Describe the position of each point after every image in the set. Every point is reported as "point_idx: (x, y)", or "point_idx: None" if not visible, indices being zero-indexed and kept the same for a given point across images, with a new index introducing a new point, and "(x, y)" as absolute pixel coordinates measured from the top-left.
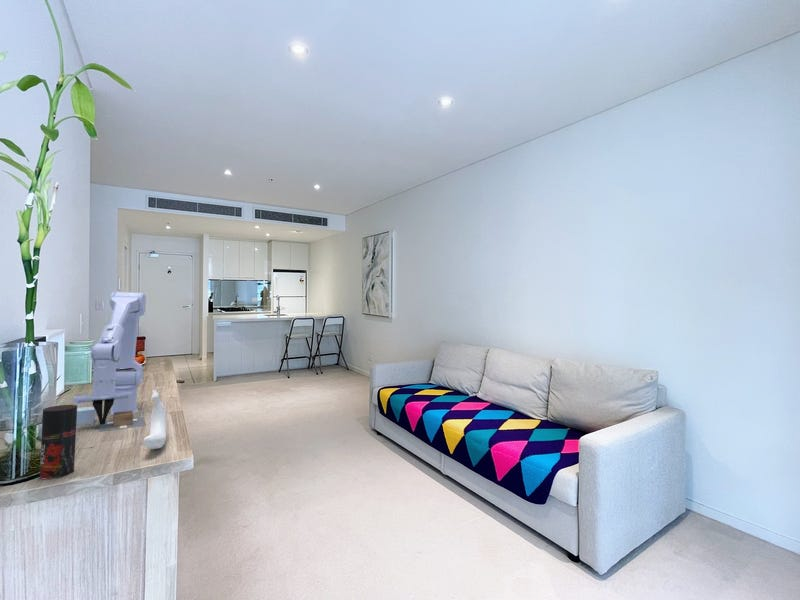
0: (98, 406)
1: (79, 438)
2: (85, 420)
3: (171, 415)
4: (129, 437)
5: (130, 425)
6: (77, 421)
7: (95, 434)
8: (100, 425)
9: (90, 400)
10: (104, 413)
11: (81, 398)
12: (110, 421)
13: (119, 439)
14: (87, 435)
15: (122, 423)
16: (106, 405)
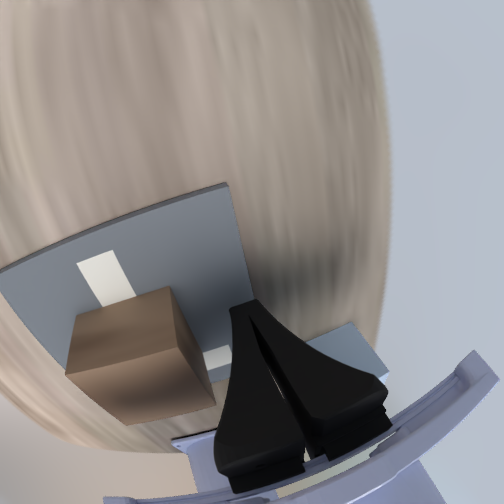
0: (336, 390)
1: (319, 107)
2: (328, 355)
3: (29, 406)
4: (6, 45)
5: (77, 299)
6: (353, 343)
7: (244, 169)
8: None
9: (404, 423)
10: (257, 358)
11: (472, 398)
12: (226, 373)
13: (56, 5)
14: (288, 161)
15: (121, 311)
16: (269, 420)
